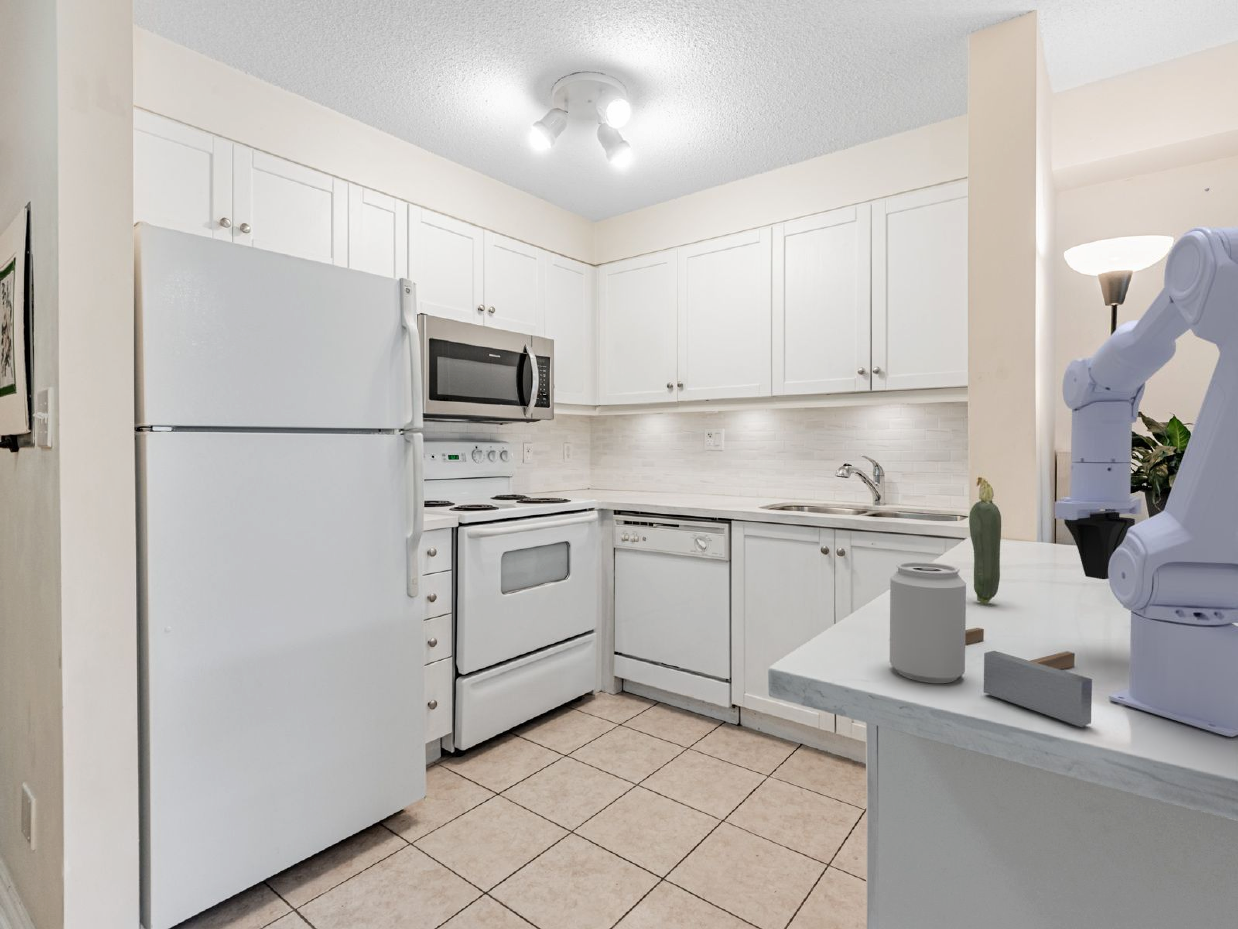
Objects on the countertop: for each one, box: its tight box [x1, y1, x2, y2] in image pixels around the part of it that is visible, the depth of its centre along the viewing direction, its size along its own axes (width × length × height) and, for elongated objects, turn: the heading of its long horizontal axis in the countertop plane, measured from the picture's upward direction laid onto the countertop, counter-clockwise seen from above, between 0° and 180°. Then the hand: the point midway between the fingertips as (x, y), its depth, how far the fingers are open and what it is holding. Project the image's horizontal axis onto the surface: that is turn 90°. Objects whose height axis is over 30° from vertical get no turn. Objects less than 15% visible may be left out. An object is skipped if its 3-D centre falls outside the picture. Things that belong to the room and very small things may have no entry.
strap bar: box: [983, 650, 1093, 728], centre depth 62 cm, size 9×2×4 cm, turn 27°
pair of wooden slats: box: [965, 627, 1076, 670], centre depth 76 cm, size 12×14×2 cm
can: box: [889, 561, 967, 684], centre depth 72 cm, size 8×8×12 cm
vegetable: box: [968, 476, 1002, 605], centre depth 102 cm, size 4×4×20 cm
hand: (1097, 577), depth 77 cm, fingers closed
